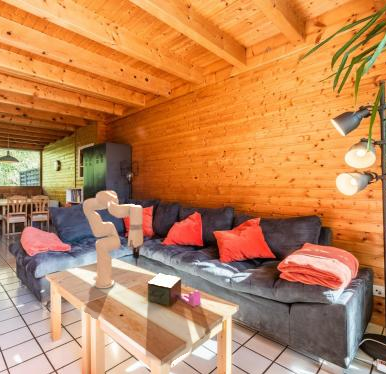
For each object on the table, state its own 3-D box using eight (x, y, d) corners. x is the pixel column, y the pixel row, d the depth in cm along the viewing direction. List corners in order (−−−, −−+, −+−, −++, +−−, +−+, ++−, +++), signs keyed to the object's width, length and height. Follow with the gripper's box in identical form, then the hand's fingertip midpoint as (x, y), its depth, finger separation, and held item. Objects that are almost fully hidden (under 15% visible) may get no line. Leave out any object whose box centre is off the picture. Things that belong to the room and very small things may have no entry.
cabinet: (170, 306, 142) (170, 287, 142) (147, 300, 149) (147, 282, 149) (181, 295, 156) (181, 278, 156) (159, 290, 163) (159, 273, 163)
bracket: (200, 303, 145) (200, 291, 145) (193, 306, 142) (193, 294, 142) (185, 295, 156) (185, 284, 156) (178, 297, 153) (178, 286, 152)
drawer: (165, 308, 138) (165, 292, 138) (144, 303, 144) (144, 287, 144) (178, 294, 154) (178, 280, 154) (159, 290, 161) (159, 276, 160)
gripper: (137, 224, 157) (137, 253, 158) (123, 228, 144) (123, 260, 145) (148, 225, 154) (147, 255, 154) (134, 229, 140) (134, 262, 141)
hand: (136, 257), depth 149 cm, fingers closed
